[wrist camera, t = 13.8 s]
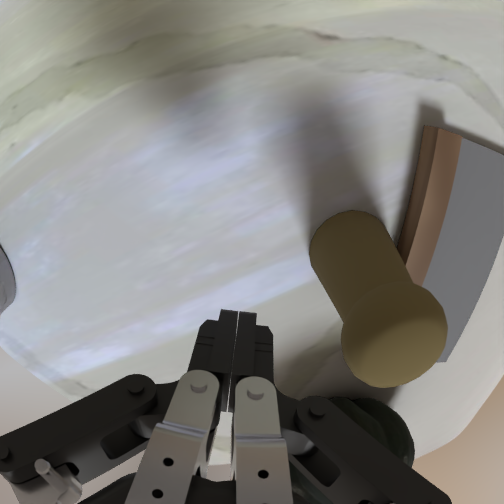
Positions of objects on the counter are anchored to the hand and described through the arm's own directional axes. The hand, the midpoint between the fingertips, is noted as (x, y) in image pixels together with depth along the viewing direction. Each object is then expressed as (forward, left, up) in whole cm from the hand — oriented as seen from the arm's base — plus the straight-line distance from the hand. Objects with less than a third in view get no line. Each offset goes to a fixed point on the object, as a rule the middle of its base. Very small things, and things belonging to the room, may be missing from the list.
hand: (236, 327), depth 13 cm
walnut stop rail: (+12, 0, -9) cm, 15 cm away
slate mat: (+17, 0, -9) cm, 19 cm away
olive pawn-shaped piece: (+7, 0, -9) cm, 12 cm away
